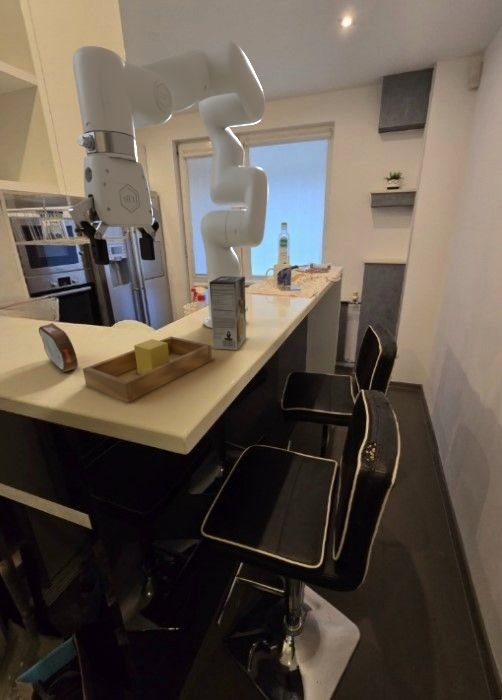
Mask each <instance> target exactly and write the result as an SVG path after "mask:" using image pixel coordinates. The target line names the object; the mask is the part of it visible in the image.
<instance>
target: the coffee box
mask: <svg viewBox="0 0 502 700" xmlns="http://www.w3.org/2000/svg"><path fill="white" fill-rule="evenodd" d="M210 298H211V316H212V328H211V333H212V347H213V349H215V350H232V351H238V350H239V349H240V347H241V346H242V345H243V343H244V342H245V341H246V339H247V317H246V316H247V315H246V314H247V313H246V312H247V311H246V306H247V305H246V276H240V277H233V276H221V277H219V278H217V279H215V280H213V281H211V282H210Z"/></svg>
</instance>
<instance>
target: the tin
mask: <svg viewBox="0 0 502 700" xmlns="http://www.w3.org/2000/svg"><path fill="white" fill-rule="evenodd" d="M38 334H39V336H40V339H41V341H42V344H43V349H44V352H45V353H46V356H47V357H48V359H49V360H50V362H51V363H53V365H54V366H55V367H57V368H58V369H59V370H60V371H61V372H62V373H66V372H70V371H73V370H77V369H78V368H79V367H78V366H79V362H78V356H77V353H76V351H75V348H74V345H73V343H72V341H71V338H70V337H69V336H68V334H67V333H66V332H65V330H64V329H62V328H60V327H59V326H57V325H56V324H55V323H53V322H51V323H48V324H44V325H41V326H39V328H38Z"/></svg>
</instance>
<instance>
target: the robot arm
mask: <svg viewBox="0 0 502 700" xmlns="http://www.w3.org/2000/svg"><path fill="white" fill-rule="evenodd" d="M72 69H73V74H74V82H75V87H76V94H77V100H78V107H79V113H80V119H81V125H82V131H83V132H82V133H83V135H78V138H77V142H78V145H79V146H80V147H84V148H85V154H86V157H84V158H83V190H84V199H82V200H81V201H79V202H77V203H76V204H74V205H72V206H70V207H69V208H68V211H67V212H68V214H69V215H70V217H71V218H72V220H73V222H74V223H75V225H76V228H77V229H78V230H79V231H80V232H81V233H82V234H84V236H85V239H87V240H89V244H90V249H91V256H92V258H93V261H94V264H95V265H97V266H109V265H110V264H111V261H110V254H109V247H108V241H107V239H106V238H103V237H104V235H105V233H106V231H107V229H108V228H109V227H110V228H132V227H133V228H135V230H136V231H137V232H138V234H139V235H140V236H141V237H138V243H139V250H140V251H139V252H140V259H141V260H142V261H155V260H156V252H155V244H154V243H155V241H154V238H156V236H157V232H158V230H159V228H160V222H161V218H162V212H160V211H159V210H158V209H156V208H155V207H154V206H153V205H152V199H151V195H150V193H151V192H150V188H149V184H148V179H147V176H146V173H145V168H144V166H143V163H141V162H139V160H138V151H137V142H136V131H135V129H145V128H150V127H157V126H158V127H159V126H161V125H163V124H165V123H167V122H168V121H169V119H171V117H172V114H174V113H178V112H182V111H185V110H188V109H190V108H191V107H193V106H195V105H197V104H198V111H199V117H200V119H201V121H202V123H203V127H204V129H205V131H206V134H207V136H208V139H209V141H210V145H211V149H212V161H211V172H210V174H211V175H210V182H209V183H210V184H209V196H210V200H211V202H212V203H213V204H214V205H215V206H218V207H222V208H243V207H246V209H216V210H210V211H209V212H206V213H205V214H204V215H202V218H201V220H200V235H201V239H202V242H203V248H204V253H205V264H206V265H205V266H206V283H207V284H206V285H207V302H208V317H207V318H205V319H204V320H203V322H204V323H203V324H204V325H205V326H206V327H207V328H211V329H212V316H211V298H210V282H211V281H213V280H215V279H217V278H219V277H221V276H233V277H241V264H240V261H239V258H238V256H237V254H236V253H235V251H234V249H235V248H244V249H245V248H247V249H248V248H256V247H259V246H260V245H261V244H262V243H263V241H264V237H265V231H266V222H267V221H266V220H267V212H268V201H269V180H268V176H267V173H266V172H265V170H264V169H263V168H262V167H260V166H257V165H248V166H247V165H246V166H245V165H244V164H245V149H244V147H243V145H242V143H241V141H240V140H239V139H238V137H237V136H236V135H235V134H234V132H233V131H232V130H231V128H233V127H235V128H236V127H242V126H250V125H255V124H258V123H259V122H261V121H262V120H263V117H264V116H265V112H266V98H265V93H264V89H263V87H262V85H261V83H260V80H259V78H258V76H257V75H256V72H255V70H254V68H253V66H252V64H251V62H250V60H249V58H248V56H247V55H246V53H245V52H244V50H243V49H242V48H241V47H240V46H239V44H237V43H236V42H234V41H232V40H226V41H220V42H216V43H212V44H208V45H204V46H199V47H195V48H191V49H187V50H185V51H180V52H177V53H174V54H171V55H167V56H163V57H160V58H158V59H154V60H152V61H150V62H148V63H145V64H142V65H140V66H139V65H135V64H133V63H130V62H128V61H125V60H124V59H123V57H121V56H120V55H119V54H118V53H116V52H115V51H113V50H111V49H108V48H105V47H102V46H97V45H86V46H81V47H79V48H78V49H76V50H75V51H74V53H73V56H72ZM85 213H87V217H88V218H87V219H88V220H87V219H86V217H85ZM233 248H234V249H233ZM245 306H246V312H248V311H249V308H248V306H247V305H245Z"/></svg>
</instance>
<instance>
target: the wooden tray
mask: <svg viewBox="0 0 502 700" xmlns="http://www.w3.org/2000/svg"><path fill="white" fill-rule="evenodd" d="M159 341H162V342H166V343H168V352H169V354H172V353H175V354H178V355H181V356H179V357H177V358H174V359H172V360H169V362H167V363H165V364H163V365H161V366H158V367H156V368H154V369H152V370H149V371H147V372H145V373H143V374H138V375H136V376H134V377H132V378H129V379H127V380H126V379H123V378H120V377H118V376H119V375H121V374H124V373H126V372H129V371H131V370H133V369H137V362H136V355H135V349H133V350H130V351H127V352H125V353H124V352H123V353H122V354H119V355H116V356H114V357H110V358H108V359H105V360H103V361H100V362H97V363H94V364H92V365H89V366H86V367H83V368H82V373H83V378H84V381H85V386H86V387H88V388H91V389H93V390H95V391H97V392H101V393H103V394H106V395H108V396H110V397H112V398H116V399H117V400H121V401H122V402H125V403H129V404H130V403H131V402H133V401H135V400H137V399H139V398H141V397H142V396H145V395H147V394H148V393H150V392H153V391H155V390H156V389H158V388H160V387H162V386H164V385H166V384H167V383H170V382H172V381H174V380H176V379H178V378H180V377H182V376H184V375H185V374H188V373H189V372H191V371H193V370H195V369H198V368H199V367H201V366H203V365H205V364H207V363H209V362H211V361H212V360H213V357H212V345H211V344H207V343H202V342H199V341H195V340H189V339H184V338H180V337H177V336H173V335H172V336H168V337H166V338H163V339H160V340H159Z"/></svg>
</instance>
